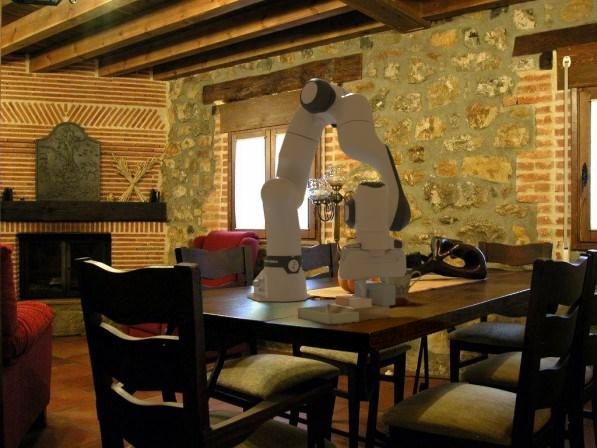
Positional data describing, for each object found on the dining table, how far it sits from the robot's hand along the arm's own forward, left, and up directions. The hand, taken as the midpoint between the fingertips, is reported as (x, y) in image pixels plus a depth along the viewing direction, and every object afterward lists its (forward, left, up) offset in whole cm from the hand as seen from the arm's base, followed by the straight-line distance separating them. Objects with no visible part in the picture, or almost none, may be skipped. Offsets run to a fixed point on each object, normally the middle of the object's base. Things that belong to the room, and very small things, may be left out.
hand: (373, 295), depth 161 cm
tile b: (+3, -7, -2) cm, 8 cm away
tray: (0, -15, -5) cm, 16 cm away
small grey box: (0, 0, -2) cm, 2 cm away
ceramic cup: (-17, +25, -5) cm, 31 cm away
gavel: (-10, +13, -6) cm, 17 cm away
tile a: (-3, -7, -2) cm, 8 cm away
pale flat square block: (0, -5, -5) cm, 7 cm away
